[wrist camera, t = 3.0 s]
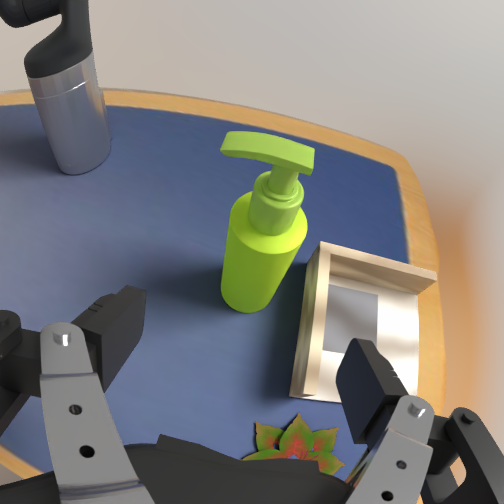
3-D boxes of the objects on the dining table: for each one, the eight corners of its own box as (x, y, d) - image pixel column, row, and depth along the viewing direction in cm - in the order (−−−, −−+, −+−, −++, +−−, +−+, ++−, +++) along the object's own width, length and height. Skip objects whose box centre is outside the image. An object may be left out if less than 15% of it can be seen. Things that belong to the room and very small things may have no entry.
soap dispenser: (218, 257, 35) (236, 108, 18) (276, 271, 35) (339, 135, 18) (205, 303, 32) (210, 167, 15) (268, 318, 32) (340, 200, 15)
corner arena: (307, 262, 36) (320, 241, 32) (414, 288, 37) (435, 272, 33) (288, 396, 28) (303, 393, 24) (413, 405, 29) (439, 401, 24)
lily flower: (336, 510, 22) (354, 521, 18) (225, 508, 22) (228, 523, 18) (350, 414, 28) (370, 412, 24) (241, 405, 28) (247, 405, 24)
